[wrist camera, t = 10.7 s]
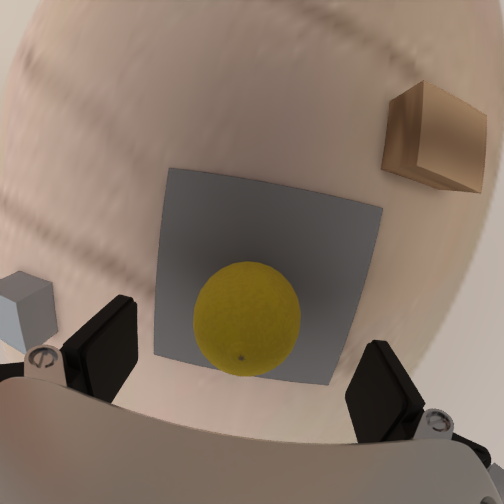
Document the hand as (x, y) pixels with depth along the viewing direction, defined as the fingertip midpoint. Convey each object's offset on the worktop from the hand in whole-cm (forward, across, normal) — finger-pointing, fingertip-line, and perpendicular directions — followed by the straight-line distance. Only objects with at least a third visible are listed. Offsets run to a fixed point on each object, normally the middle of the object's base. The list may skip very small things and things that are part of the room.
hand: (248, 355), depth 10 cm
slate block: (+9, +20, +7) cm, 23 cm away
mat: (+9, 0, +1) cm, 9 cm away
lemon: (+8, 0, +1) cm, 9 cm away
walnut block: (+9, -9, -11) cm, 17 cm away
